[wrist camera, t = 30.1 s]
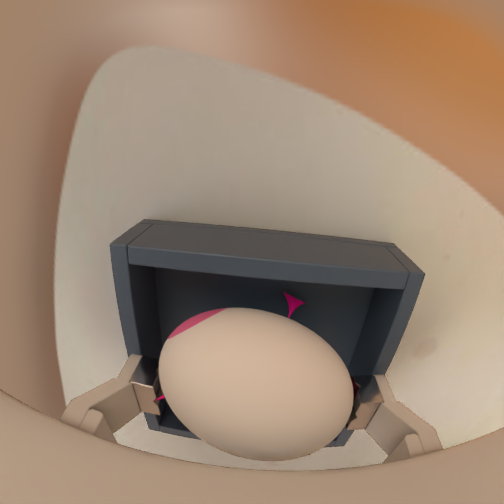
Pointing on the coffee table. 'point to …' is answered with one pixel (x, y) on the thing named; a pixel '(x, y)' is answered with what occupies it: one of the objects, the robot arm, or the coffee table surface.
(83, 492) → the robot arm
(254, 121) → the coffee table surface
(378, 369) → the slate tray
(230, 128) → the coffee table surface
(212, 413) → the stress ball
